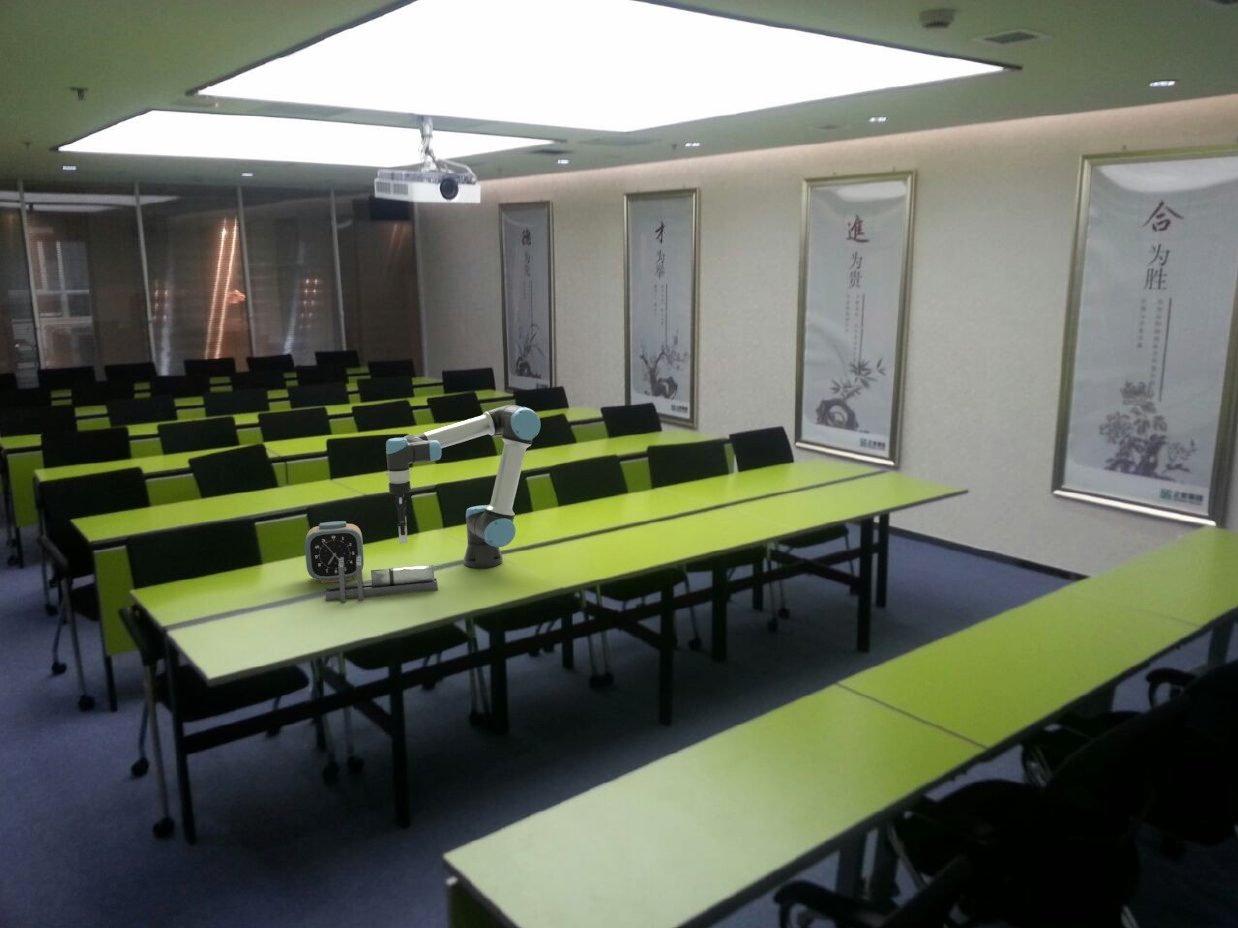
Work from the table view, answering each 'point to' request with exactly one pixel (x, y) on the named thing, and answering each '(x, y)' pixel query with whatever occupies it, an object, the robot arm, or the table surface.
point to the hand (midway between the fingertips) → (403, 538)
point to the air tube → (402, 575)
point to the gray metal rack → (368, 590)
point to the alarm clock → (333, 550)
